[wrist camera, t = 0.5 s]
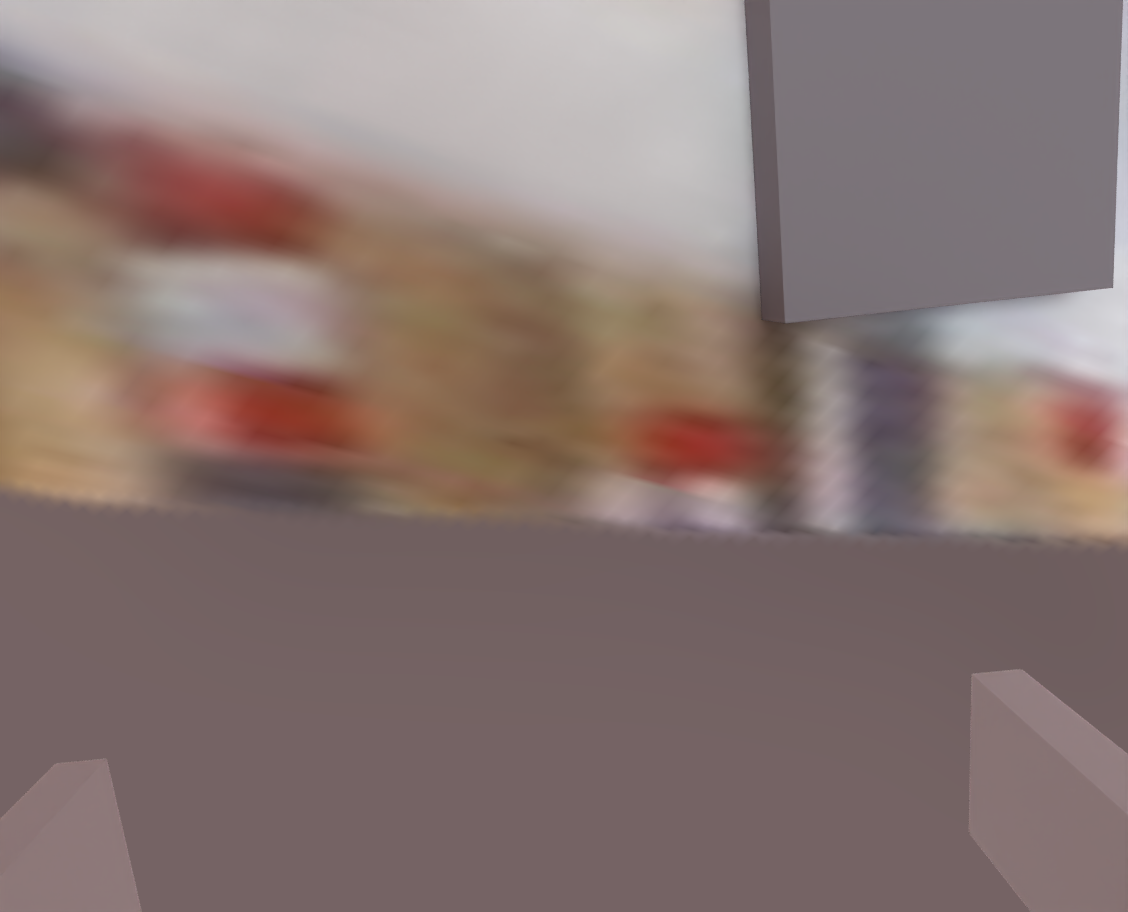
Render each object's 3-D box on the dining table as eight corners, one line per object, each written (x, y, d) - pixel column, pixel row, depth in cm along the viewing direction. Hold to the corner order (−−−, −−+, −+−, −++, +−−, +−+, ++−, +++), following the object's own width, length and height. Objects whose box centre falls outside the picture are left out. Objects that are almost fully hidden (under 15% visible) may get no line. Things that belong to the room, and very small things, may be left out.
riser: (741, -7, 35) (767, -43, 32) (1060, -40, 36) (1125, -80, 32) (759, 319, 38) (785, 323, 34) (1054, 287, 39) (1113, 287, 35)
